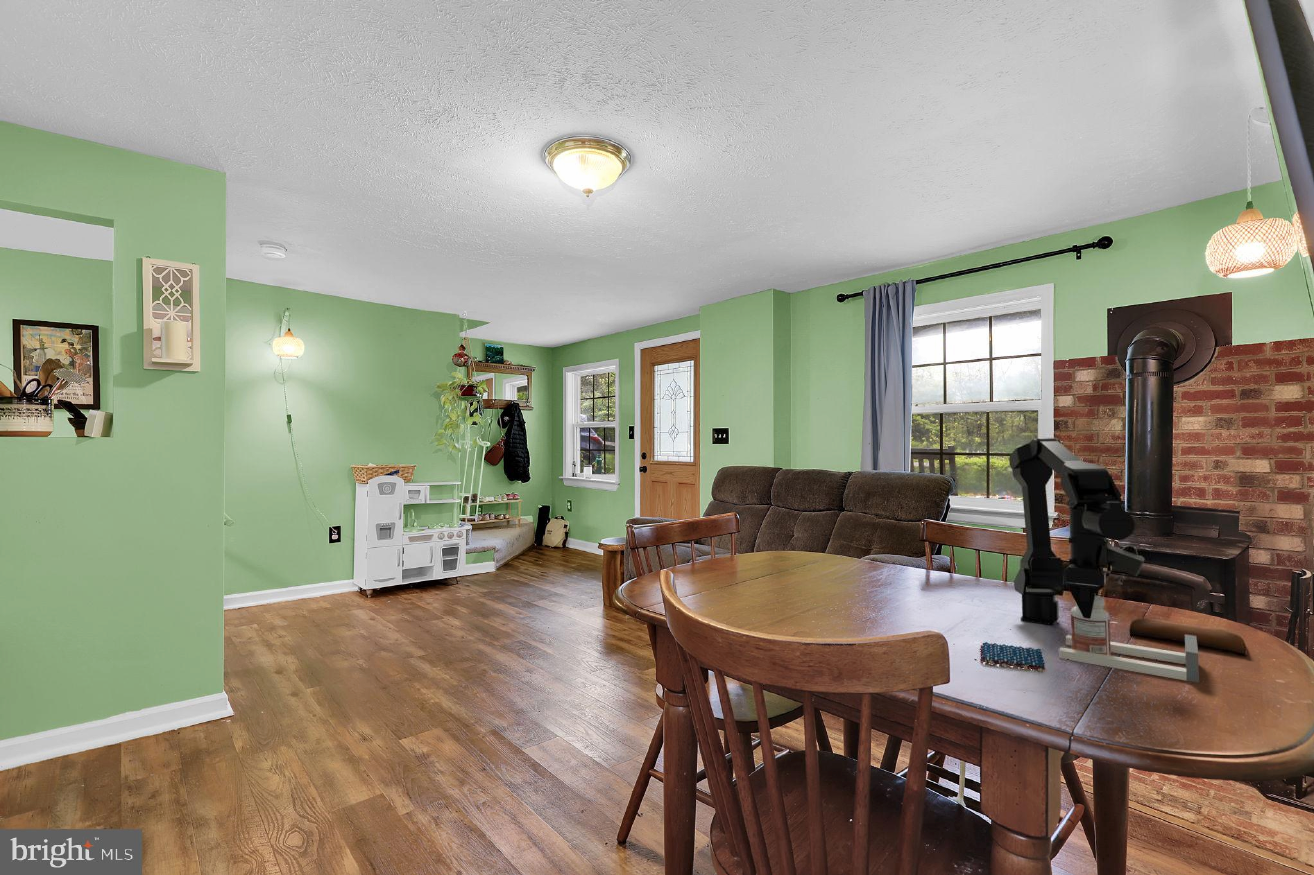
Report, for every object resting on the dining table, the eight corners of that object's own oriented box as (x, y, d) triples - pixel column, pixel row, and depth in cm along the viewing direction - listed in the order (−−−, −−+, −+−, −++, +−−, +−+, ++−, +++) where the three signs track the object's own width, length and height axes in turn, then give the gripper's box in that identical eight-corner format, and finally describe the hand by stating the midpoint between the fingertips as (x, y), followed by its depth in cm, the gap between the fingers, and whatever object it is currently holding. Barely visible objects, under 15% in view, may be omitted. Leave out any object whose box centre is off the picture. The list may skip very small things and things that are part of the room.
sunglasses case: (1252, 646, 121) (1248, 620, 119) (1248, 672, 117) (1245, 646, 115) (1138, 626, 135) (1133, 603, 132) (1131, 649, 131) (1126, 626, 128)
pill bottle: (1083, 647, 122) (1082, 591, 123) (1117, 656, 117) (1116, 598, 117) (1064, 652, 120) (1063, 595, 120) (1098, 662, 114) (1097, 603, 114)
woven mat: (979, 650, 124) (979, 640, 124) (1041, 658, 119) (1041, 647, 119) (979, 667, 114) (979, 656, 114) (1046, 676, 109) (1046, 665, 109)
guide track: (1059, 658, 117) (1058, 631, 117) (1067, 642, 126) (1066, 617, 126) (1199, 682, 104) (1198, 653, 104) (1197, 663, 113) (1196, 636, 113)
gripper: (1138, 542, 106) (1140, 632, 106) (1142, 529, 121) (1144, 608, 120) (1062, 537, 113) (1064, 621, 113) (1074, 525, 128) (1076, 600, 128)
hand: (1089, 612), depth 119 cm, fingers open, 9 cm apart
